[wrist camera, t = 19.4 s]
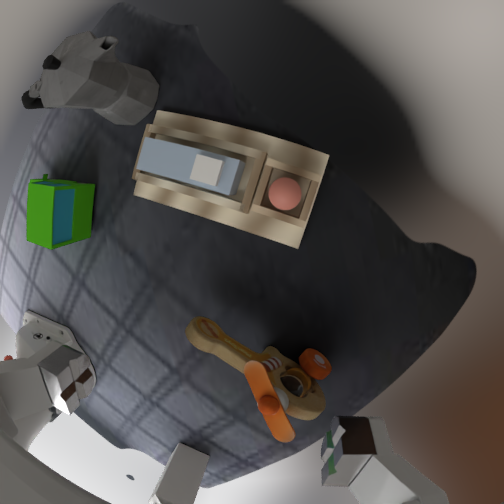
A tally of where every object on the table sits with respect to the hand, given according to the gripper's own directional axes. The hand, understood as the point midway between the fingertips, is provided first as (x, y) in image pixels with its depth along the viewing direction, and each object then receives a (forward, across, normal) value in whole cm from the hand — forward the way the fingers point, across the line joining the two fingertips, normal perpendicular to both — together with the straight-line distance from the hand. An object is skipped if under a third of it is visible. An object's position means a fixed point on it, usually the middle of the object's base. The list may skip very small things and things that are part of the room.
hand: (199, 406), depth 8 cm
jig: (+29, +7, -7) cm, 31 cm away
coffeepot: (+29, +24, -17) cm, 41 cm away
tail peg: (+28, -1, -6) cm, 29 cm away
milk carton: (+29, +10, +49) cm, 58 cm away
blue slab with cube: (+28, +11, -8) cm, 31 cm away
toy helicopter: (+29, -2, +16) cm, 33 cm away
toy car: (+29, +33, -1) cm, 44 cm away
